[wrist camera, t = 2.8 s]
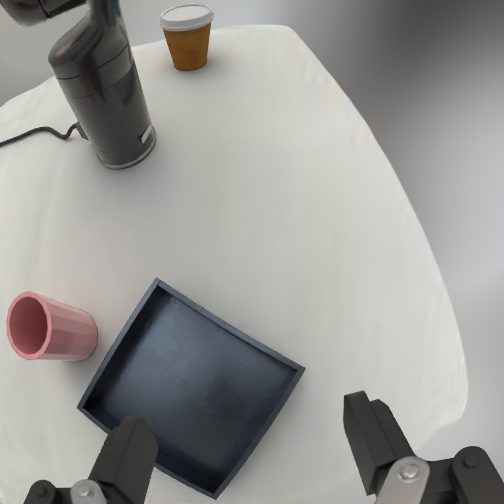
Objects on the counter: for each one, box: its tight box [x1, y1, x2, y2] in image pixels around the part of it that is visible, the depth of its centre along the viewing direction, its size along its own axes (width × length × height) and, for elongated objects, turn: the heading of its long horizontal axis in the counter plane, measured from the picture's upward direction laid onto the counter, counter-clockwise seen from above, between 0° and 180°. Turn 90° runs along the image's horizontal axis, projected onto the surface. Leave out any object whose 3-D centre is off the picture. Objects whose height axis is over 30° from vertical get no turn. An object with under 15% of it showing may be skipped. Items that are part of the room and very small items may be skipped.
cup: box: [6, 291, 97, 361], centre depth 25 cm, size 6×6×10 cm
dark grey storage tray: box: [77, 277, 306, 500], centre depth 26 cm, size 17×17×4 cm
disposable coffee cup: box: [159, 4, 214, 71], centre depth 40 cm, size 10×10×12 cm
